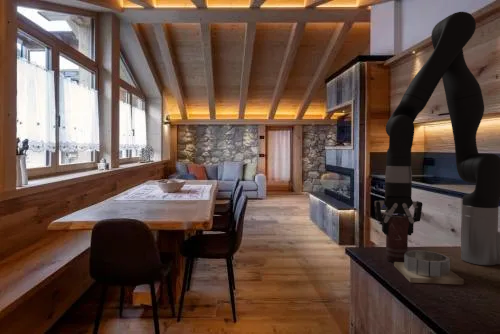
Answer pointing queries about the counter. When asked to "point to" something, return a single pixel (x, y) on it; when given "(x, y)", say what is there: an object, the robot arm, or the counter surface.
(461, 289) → the counter surface
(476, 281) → the counter surface
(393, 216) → the can
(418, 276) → the stand
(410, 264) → the collar
